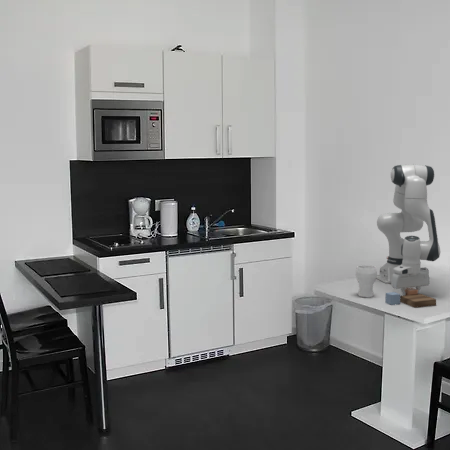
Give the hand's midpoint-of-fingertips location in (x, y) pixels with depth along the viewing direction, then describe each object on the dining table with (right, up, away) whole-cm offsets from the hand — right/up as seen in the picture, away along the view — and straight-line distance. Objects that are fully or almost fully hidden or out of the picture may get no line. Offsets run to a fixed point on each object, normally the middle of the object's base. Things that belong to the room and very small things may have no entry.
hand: (410, 295), depth 311 cm
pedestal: (+1, -3, -9) cm, 9 cm away
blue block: (-11, -3, -8) cm, 14 cm away
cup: (-21, -1, +8) cm, 22 cm away
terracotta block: (0, -2, 0) cm, 2 cm away
